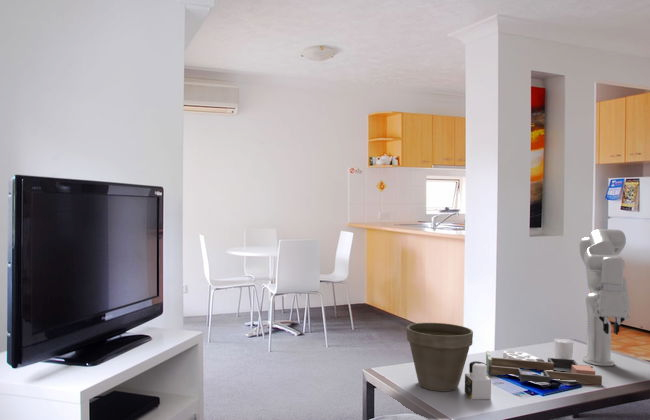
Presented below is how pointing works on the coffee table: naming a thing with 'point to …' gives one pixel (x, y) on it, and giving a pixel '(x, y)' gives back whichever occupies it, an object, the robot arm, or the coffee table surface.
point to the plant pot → (439, 353)
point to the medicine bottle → (478, 382)
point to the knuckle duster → (520, 356)
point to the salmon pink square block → (582, 369)
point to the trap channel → (513, 367)
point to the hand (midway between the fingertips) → (611, 333)
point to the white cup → (563, 348)
